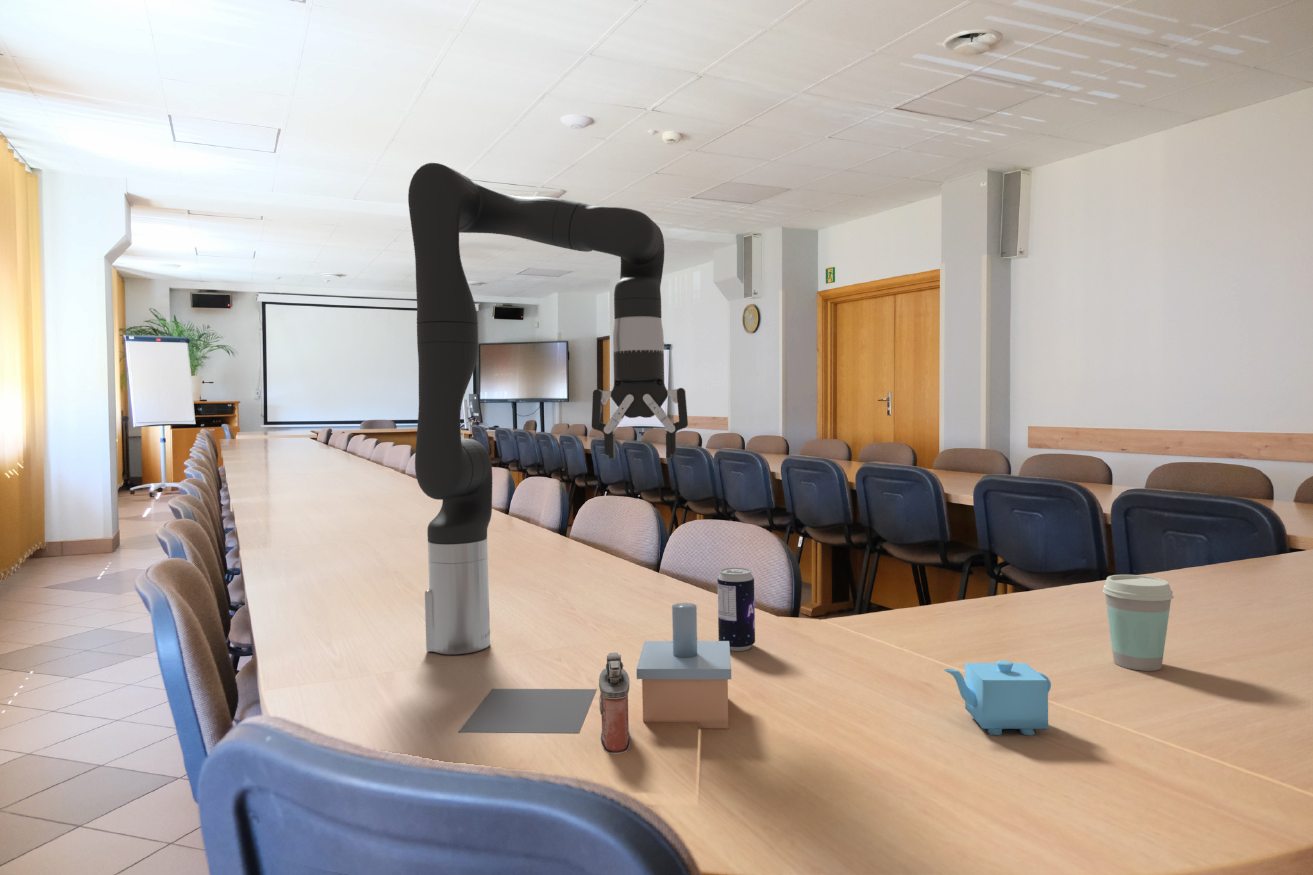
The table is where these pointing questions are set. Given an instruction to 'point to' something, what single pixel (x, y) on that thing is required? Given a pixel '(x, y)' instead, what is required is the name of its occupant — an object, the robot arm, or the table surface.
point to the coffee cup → (1138, 620)
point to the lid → (684, 652)
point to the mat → (531, 711)
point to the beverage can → (736, 608)
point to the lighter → (614, 706)
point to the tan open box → (686, 701)
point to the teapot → (1005, 696)
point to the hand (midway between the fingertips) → (640, 458)
